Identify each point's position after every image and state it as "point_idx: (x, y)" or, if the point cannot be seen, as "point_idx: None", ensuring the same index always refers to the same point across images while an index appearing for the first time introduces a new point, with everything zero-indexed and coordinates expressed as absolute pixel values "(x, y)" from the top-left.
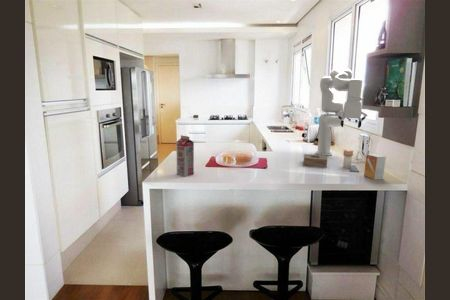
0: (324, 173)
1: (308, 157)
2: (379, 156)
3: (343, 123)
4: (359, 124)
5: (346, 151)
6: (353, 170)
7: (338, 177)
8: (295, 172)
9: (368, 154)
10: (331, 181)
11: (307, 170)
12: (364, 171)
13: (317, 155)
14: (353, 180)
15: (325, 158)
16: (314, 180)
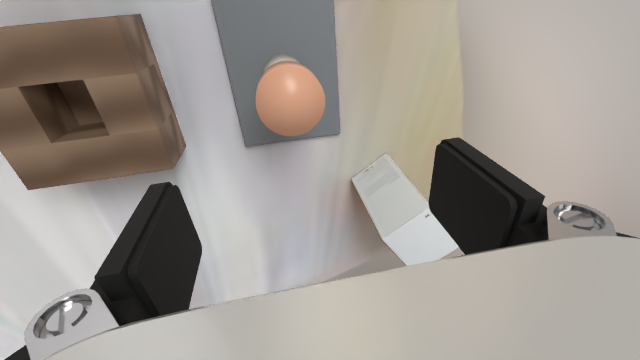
0: (198, 220)
1: (40, 158)
2: (428, 260)
3: (189, 297)
4: (462, 244)
5: (277, 132)
6: (315, 129)
7: (258, 244)
8: (86, 260)
9: (390, 242)
10: (242, 291)
11: (114, 210)
12: (356, 188)
13: (55, 51)
14: (308, 251)
15: (151, 134)
16: (191, 306)
